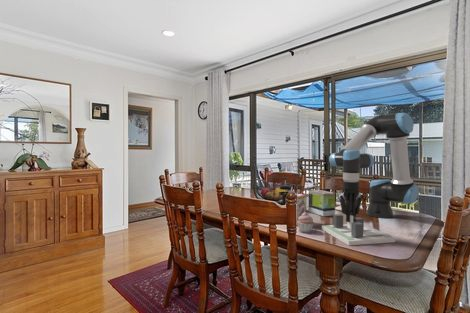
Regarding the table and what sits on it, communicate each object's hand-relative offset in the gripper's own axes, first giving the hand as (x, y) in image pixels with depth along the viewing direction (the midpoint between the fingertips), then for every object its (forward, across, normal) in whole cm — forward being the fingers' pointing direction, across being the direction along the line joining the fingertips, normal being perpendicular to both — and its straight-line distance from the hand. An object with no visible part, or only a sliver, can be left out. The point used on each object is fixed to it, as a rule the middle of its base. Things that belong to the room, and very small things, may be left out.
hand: (350, 228), depth 134 cm
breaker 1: (+1, +2, -8) cm, 8 cm away
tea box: (+4, -8, -44) cm, 45 cm away
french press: (+4, +12, -58) cm, 59 cm away
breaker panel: (+4, -3, 0) cm, 5 cm away
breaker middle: (+1, -4, 0) cm, 4 cm away
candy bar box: (+4, +17, -25) cm, 30 cm away
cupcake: (+4, +19, -11) cm, 22 cm away
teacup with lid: (+4, -9, -20) cm, 22 cm away
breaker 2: (+1, +2, +8) cm, 8 cm away
